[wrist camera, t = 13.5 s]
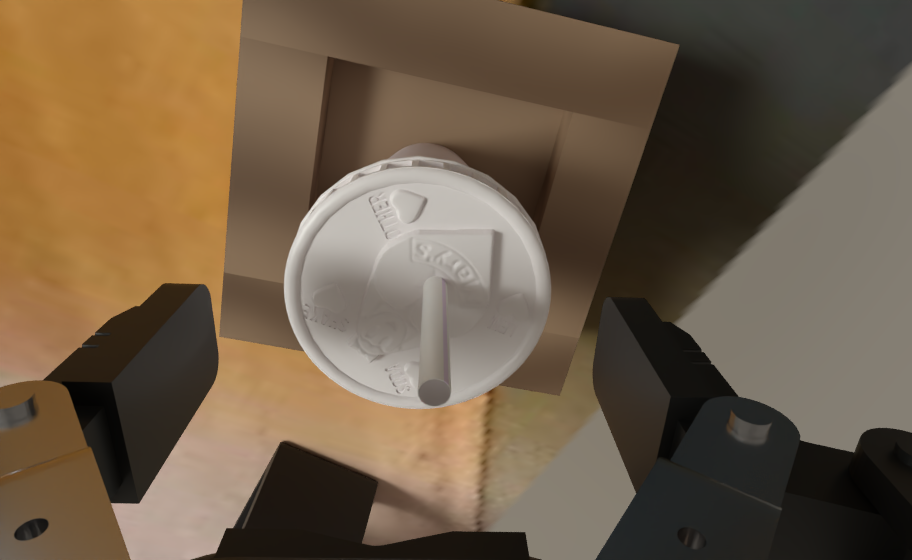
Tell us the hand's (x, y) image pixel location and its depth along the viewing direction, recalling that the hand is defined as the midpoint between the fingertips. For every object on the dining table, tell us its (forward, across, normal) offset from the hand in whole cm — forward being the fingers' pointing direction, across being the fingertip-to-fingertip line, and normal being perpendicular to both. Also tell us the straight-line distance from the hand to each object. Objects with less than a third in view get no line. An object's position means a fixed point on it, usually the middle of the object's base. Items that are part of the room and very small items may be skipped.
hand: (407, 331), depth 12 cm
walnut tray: (+16, 0, 0) cm, 17 cm away
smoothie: (+12, 0, 0) cm, 12 cm away
